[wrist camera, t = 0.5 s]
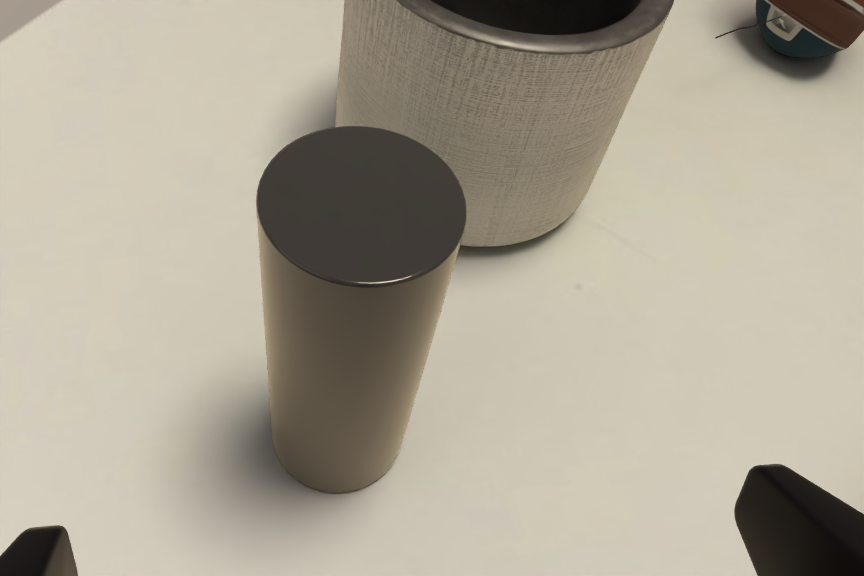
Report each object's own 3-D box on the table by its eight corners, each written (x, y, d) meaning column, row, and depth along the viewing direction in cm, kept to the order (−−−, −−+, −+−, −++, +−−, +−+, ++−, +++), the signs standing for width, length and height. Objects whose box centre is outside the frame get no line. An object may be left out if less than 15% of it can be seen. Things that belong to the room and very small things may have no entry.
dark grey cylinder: (409, 487, 27) (484, 282, 16) (273, 499, 26) (256, 288, 15) (395, 369, 29) (451, 125, 19) (270, 375, 28) (255, 122, 18)
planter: (484, 45, 42) (536, -165, 33) (637, 195, 37) (749, -4, 28) (285, 114, 36) (281, -115, 27) (432, 301, 31) (488, 97, 22)
